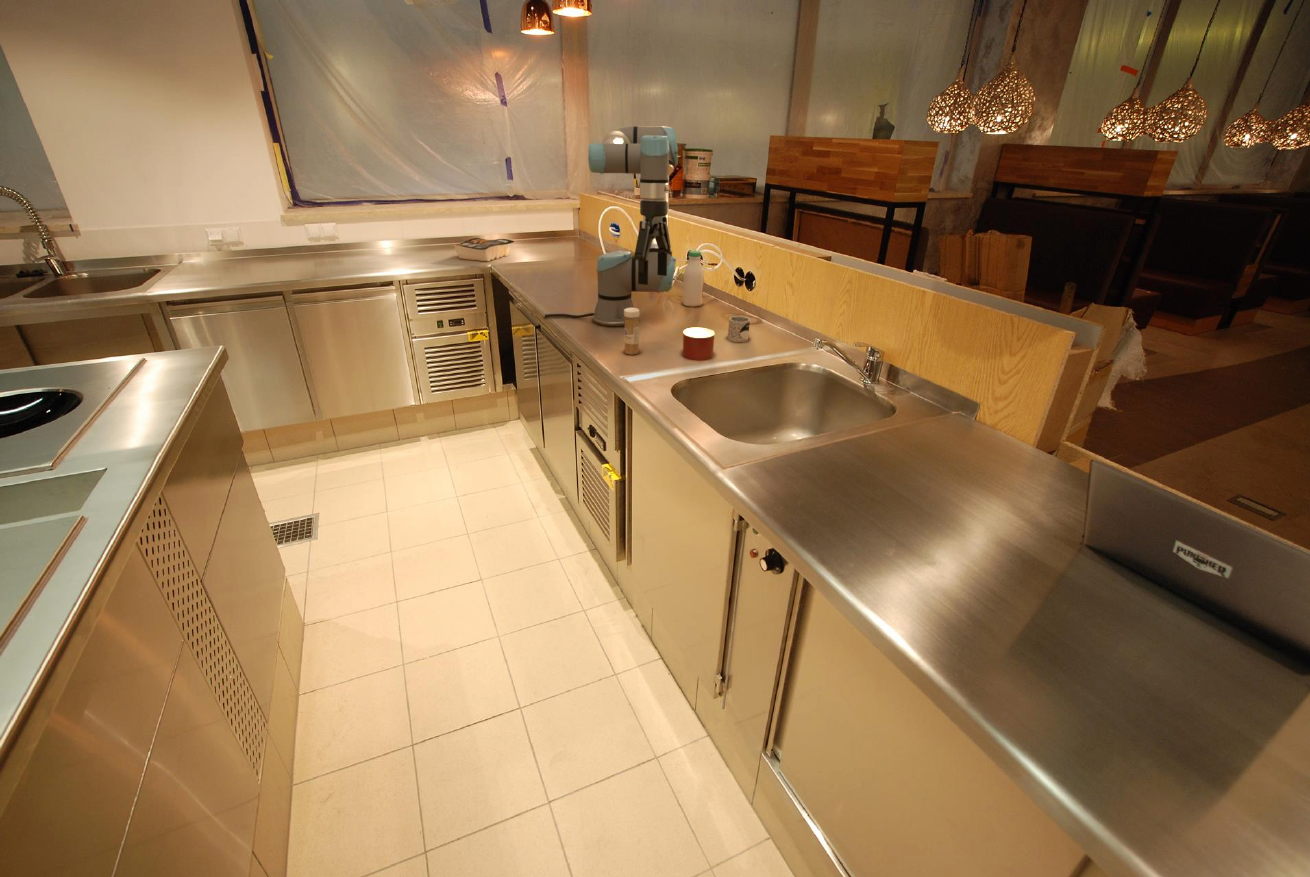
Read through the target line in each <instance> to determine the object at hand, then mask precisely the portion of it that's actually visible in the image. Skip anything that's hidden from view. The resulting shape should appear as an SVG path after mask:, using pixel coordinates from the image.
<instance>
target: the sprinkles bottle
mask: <svg viewBox="0 0 1310 877" xmlns="http://www.w3.org/2000/svg"><path fill="white" fill-rule="evenodd" d="M624 317H625V326H624V334H623V335H624V338H623V339H624V350H623V351H624V354H626V355H630V356H632V355H633V356H634V355H638V354H639V353H640V350H639V346H640V309H639V308H637V307H634V308H626V309H624Z"/></svg>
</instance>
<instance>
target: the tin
mask: <svg viewBox="0 0 1310 877" xmlns="http://www.w3.org/2000/svg"><path fill="white" fill-rule="evenodd" d="M682 333H683V335H682V336H683V338H682V356H683V357H685V358H686V359H689V360H693V361H705V360H710V359H711V358H713V356H714V347H715V346H714V344H715V343H714V342H715V335H716V332H715V331H714V330H712V329H710V328H705V327H689V328H686V329H684V330H683V332H682Z"/></svg>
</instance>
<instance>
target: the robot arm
mask: <svg viewBox="0 0 1310 877" xmlns="http://www.w3.org/2000/svg"><path fill="white" fill-rule="evenodd" d="M587 159H588V160H587V161H588V169H589V172H591V173H594V174H595V173H596V174H601V175H602V174H629V175H631V174H632V175H633V174H634V175H636V174H637V175H640V182H639V198H640V199H641V200H640V202H639V207H640V208H639V214H640V216H642V220H639V225H638V234H637V238H636V243H635V244H636V245H635V249H634V255H633V254H632V252H631V251H630V250H615V251H610V252H606V253H603V254H601V255H600V256H599V257H598V258H597V260H596V263H597V264H596V273H597V302H596V306H595V309H594V311H593V312H590V313H584V314H571V313H545V314H544V318H554V317H555V318H557V317H559V318H562V317H565V318H571V319H581V318H586V317H593V322H594V323H595V324H597V325H599V326H604V327H610V328H611V327H613V328H618V327H625V317H624V309H626V308H635V305H634V302H633V300H632V292H633V293H634V292H635V293H636V292H637V293H638V292H639V293H657V294H659V293H668V292H670V291H671V290H672V288H673V284H674V276H675V269H676V262H677V257H675V256H673V250H672V246H671V239H670V234H669V233H670V232H669V200H670V199H669V197H670V196H669V195H670V192H669V191H670V175H671V174H672V173H673V172H674V167H676V166H678V165H679V154H678V140H677V134H676V131H675V129H674V128H673V127H672V126H671V127H670V126H663V125H660V126H649V125H648V126H647V125H646V126H643V125H641V126H638V125H628V126H627V125H626V126H621V127H618V128H616V129H613V130H611V131H609V132H608V133H607V134H605V135H604V136H603V139H602V141H601V142H593V143H592V142H591V143H590V144H589V145H588V150H587Z"/></svg>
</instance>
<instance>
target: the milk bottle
mask: <svg viewBox="0 0 1310 877" xmlns="http://www.w3.org/2000/svg"><path fill="white" fill-rule="evenodd" d="M701 258H702V252H701V251H700V250H689V251H688V261H687V265H686V266H685V268H684V272H683V282H682V283H683V284H682V305H683V306H687V307H700V306H702V305H703V301H704V300H703V299H704V298H703V297H704V280H705V278H704V277H705V276H704V269H703V265H702V263H701Z"/></svg>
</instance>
